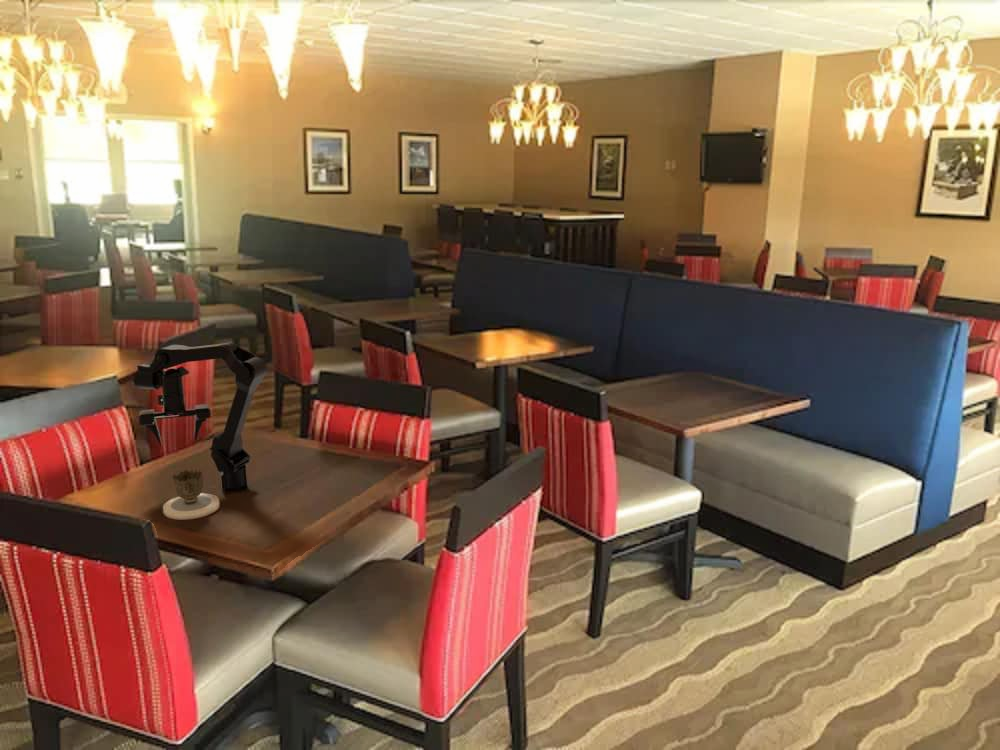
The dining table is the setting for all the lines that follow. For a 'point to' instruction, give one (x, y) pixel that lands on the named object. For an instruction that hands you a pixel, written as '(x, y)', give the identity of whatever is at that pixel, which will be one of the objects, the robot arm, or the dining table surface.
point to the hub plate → (191, 507)
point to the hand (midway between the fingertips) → (178, 443)
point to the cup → (189, 485)
